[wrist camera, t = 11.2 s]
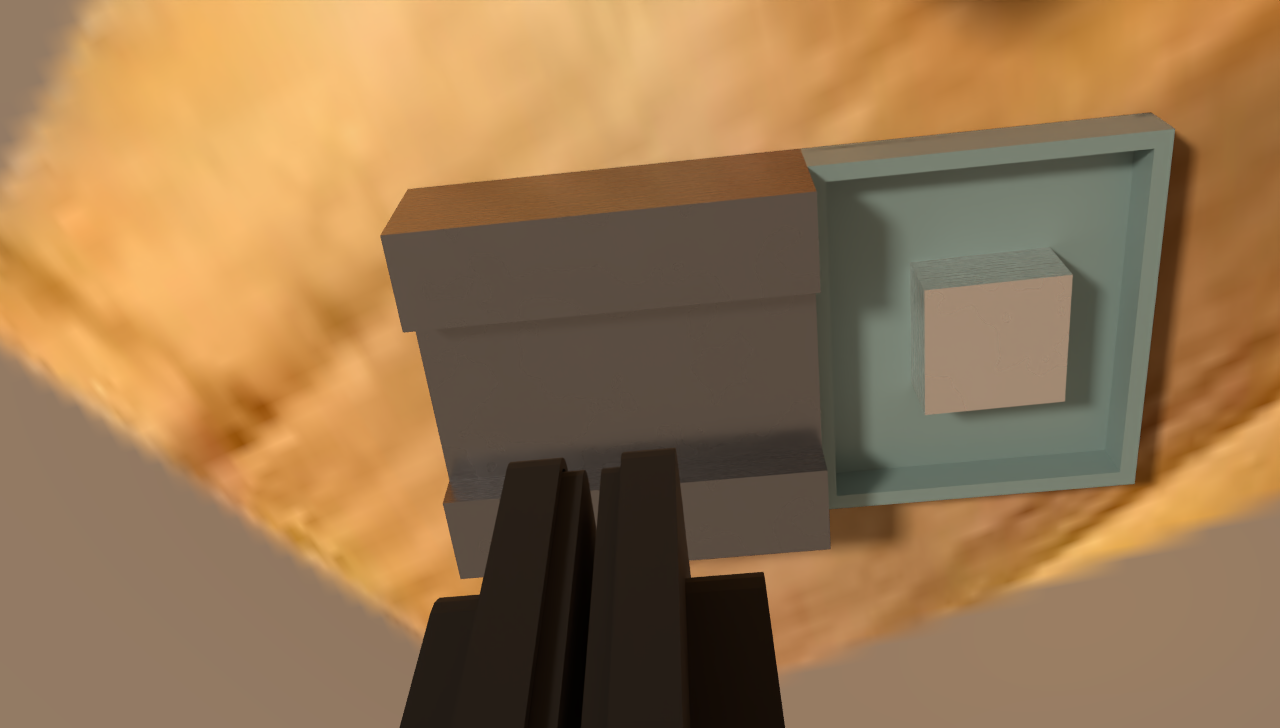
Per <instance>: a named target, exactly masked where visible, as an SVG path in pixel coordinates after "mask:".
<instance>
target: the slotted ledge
mask: <svg viewBox="0 0 1280 728" xmlns="http://www.w3.org/2000/svg"><path fill="white" fill-rule="evenodd" d="M380 236H381V241H382V245H383V249H384V253H385V258H386V262H387V266H388V271H389V275H390V279H391V283H392V288H393V292H394V296H395V300H396V305H397V309H398V313H399V318H400V322H401V326H402V330H403V332H413V331H416V335H417V339H418V344H419V348H420V353H421V357H422V361H423V366H424V370H425V374H426V379H427V383H428V388H429V392H430V396H431V401H432V405H433V410H434V414H435V418H436V423H437V427H438V432H439V436H440V440H441V445H442V449H443V454H444V458H445V462H446V467H447V471H448V475H449V480H450V481H449V484H448V488H447V491H446V494H445V498H444V501H443V506H444V510H445V514H446V519H447V523H448V527H449V531H450V536H451V540H452V544H453V549H454V553H455V557H456V561H457V566H458V570H459V574H460V579H467V578H479V577H484V573H485V568H486V563H487V559H488V554H489V549H490V545H491V540H492V535H493V531H494V526H495V521H496V517H497V512H498V507H499V503H500V498H501V493H502V489H503V484H504V479H505V475H506V470H507V467H508V464H509V463H510V462H517V461H529V460H540V459H552V458H564V459H565V461H566V464H567V468H568V471H579V470H586V472H587V475H588V480H589V485H590V492H591V498H592V504H593V511H594V517H595V523H596V530H597V517H598V504H599V491H600V479H601V470H602V468H613V467H620V466H621V454H622V452H632V451H643V450H655V449H666V448H676V453H677V460H678V468H679V477H680V486H681V495H682V504H683V513H684V522H685V530H686V539H687V548H688V557H689V560H701V559H714V558H726V557H738V556H751V555H763V554H776V553H788V552H800V551H813V550H825V549H831V546H830V520H829V494H828V470H827V466H826V462H825V458H824V454H823V450H822V434H821V410H820V386H819V361H818V337H817V313H816V293H821V288H820V262H819V237H818V211H817V191H816V188H815V186H814V183H813V180H812V178H811V175H810V173H809V170H808V167H807V165H806V162H805V160H804V157H803V154H802V152H801V149H794V150H784V151H774V152H765V153H755V154H745V155H736V156H726V157H716V158H707V159H697V160H687V161H678V162H668V163H658V164H649V165H639V166H629V167H620V168H610V169H600V170H591V171H581V172H571V173H562V174H552V175H542V176H533V177H523V178H513V179H504V180H494V181H484V182H475V183H465V184H455V185H446V186H436V187H426V188H417V189H408V190H407V191H406V193H405V195H404V197H403V198H402V200H401V202H400V203H399V205H398V207H397V208H396V210H395V212H394V213H393V215H392V217H391V218H390V220H389V222H388V223H387V225H386V227H385V228H384V230H383V232H382V233H381V235H380Z"/></svg>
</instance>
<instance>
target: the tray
mask: <svg viewBox="0 0 1280 728" xmlns="http://www.w3.org/2000/svg"><path fill="white" fill-rule="evenodd" d="M1174 135H1175V129H1174V128H1173V127H1172V126H1170V125H1169V124H1167V123H1166V122H1164V121H1163V120H1161V119H1160V118H1158V117H1157V116H1156V115H1154V114H1153V113H1142V114H1132V115H1123V116H1113V117H1103V118H1094V119H1084V120H1074V121H1065V122H1055V123H1045V124H1036V125H1026V126H1016V127H1007V128H997V129H987V130H978V131H968V132H958V133H949V134H939V135H929V136H920V137H910V138H900V139H891V140H881V141H871V142H862V143H852V144H842V145H832V146H823V147H813V148H803V149H801V152H802V154H803V157H804V160H805V162H806V165H807V167H808V170H809V173H810V175H811V178H812V180H813V183H814V186H815V188H816V191H817V211H818V237H819V262H820V288H821V293H816V313H817V337H818V361H819V386H820V410H821V434H822V450H823V454H824V458H825V462H826V466H827V470H828V494H829V509H839V508H851V507H863V506H875V505H887V504H899V503H911V502H923V501H935V500H947V499H959V498H971V497H983V496H995V495H1007V494H1019V493H1031V492H1043V491H1055V490H1067V489H1079V488H1091V487H1103V486H1115V485H1127V484H1135V475H1136V467H1137V458H1138V449H1139V441H1140V432H1141V423H1142V414H1143V406H1144V397H1145V388H1146V379H1147V371H1148V362H1149V353H1150V344H1151V336H1152V327H1153V318H1154V309H1155V301H1156V292H1157V283H1158V274H1159V266H1160V257H1161V248H1162V240H1163V231H1164V222H1165V213H1166V205H1167V196H1168V187H1169V178H1170V170H1171V161H1172V152H1173V143H1174ZM1047 247H1050V248H1051V249H1052V250H1053V252H1054V253H1055V254H1056V255H1057V256H1058V258H1059V259H1060V260H1061V261H1062V262H1063V264H1064V265H1065V266H1066V267H1067V268H1068V270H1069V271H1070V272H1071V273H1072V274H1073V279H1072V295H1071V311H1070V327H1069V343H1068V359H1067V375H1066V391H1065V401H1064V402H1054V403H1044V404H1034V405H1023V406H1013V407H1003V408H993V409H983V410H972V411H962V412H952V413H942V414H931V415H925V414H924V412H923V409H922V407H921V404H920V402H919V400H918V397H917V395H916V392H915V390H914V388H913V385H912V383H911V324H910V262H917V261H926V260H935V259H945V258H954V257H963V256H973V255H982V254H991V253H1001V252H1010V251H1019V250H1029V249H1038V248H1047Z"/></svg>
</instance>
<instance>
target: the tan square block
mask: <svg viewBox="0 0 1280 728" xmlns="http://www.w3.org/2000/svg"><path fill="white" fill-rule="evenodd" d="M1072 279H1073V274H1072V273H1071V272H1070V271H1069V270H1068V268H1067V267H1066V266H1065V265H1064V264H1063V262H1062V261H1061V260H1060V259H1059V258H1058V256H1057V255H1056V254H1055V253H1054V252H1053V250H1052V249H1051V248H1050V247H1047V248H1038V249H1029V250H1019V251H1010V252H1001V253H991V254H982V255H973V256H963V257H954V258H945V259H935V260H926V261H917V262H910V324H911V383H912V385H913V388H914V390H915V392H916V395H917V397H918V400H919V402H920V404H921V407H922V409H923V412H924V414H925V415H931V414H942V413H952V412H962V411H972V410H983V409H993V408H1003V407H1013V406H1023V405H1034V404H1044V403H1054V402H1064V401H1065V391H1066V375H1067V359H1068V343H1069V327H1070V311H1071V295H1072Z"/></svg>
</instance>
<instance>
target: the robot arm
mask: <svg viewBox="0 0 1280 728" xmlns="http://www.w3.org/2000/svg"><path fill="white" fill-rule="evenodd" d="M400 728H785V725H784V717H783V709H782V702H781V695H780V687H779V680H778V672H777V665H776V658H775V650H774V643H773V635H772V628H771V621H770V613H769V606H768V598H767V591H766V584H765V577H764V573H763V572H757V573H744V574H732V575H719V576H707V577H694V578H691V575H690V566H689V557H688V548H687V539H686V530H685V522H684V513H683V504H682V495H681V486H680V477H679V468H678V460H677V453H676V448H666V449H655V450H643V451H632V452H622V454H621V466H620V467H613V468H602V470H601V479H600V491H599V504H598V517H597V530H596V523H595V517H594V511H593V504H592V498H591V492H590V485H589V480H588V475H587V472H586V470H579V471H568V468H567V464H566V461H565V459H564V458H552V459H540V460H529V461H517V462H510V463H509V464H508V467H507V470H506V475H505V479H504V484H503V489H502V493H501V498H500V503H499V507H498V512H497V517H496V521H495V526H494V531H493V535H492V540H491V545H490V549H489V554H488V559H487V563H486V568H485V573H484V577H483V582H482V587H481V591H480V595H469V596H456V597H444V598H439V599H438V600H437V601H436V602H435V603H434V605H433V608H432V610H431V613H430V616H429V620H428V624H427V628H426V631H425V635H424V639H423V643H422V646H421V650H420V654H419V658H418V661H417V665H416V669H415V672H414V676H413V680H412V684H411V687H410V691H409V695H408V698H407V702H406V706H405V710H404V713H403V717H402V721H401V725H400Z"/></svg>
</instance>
